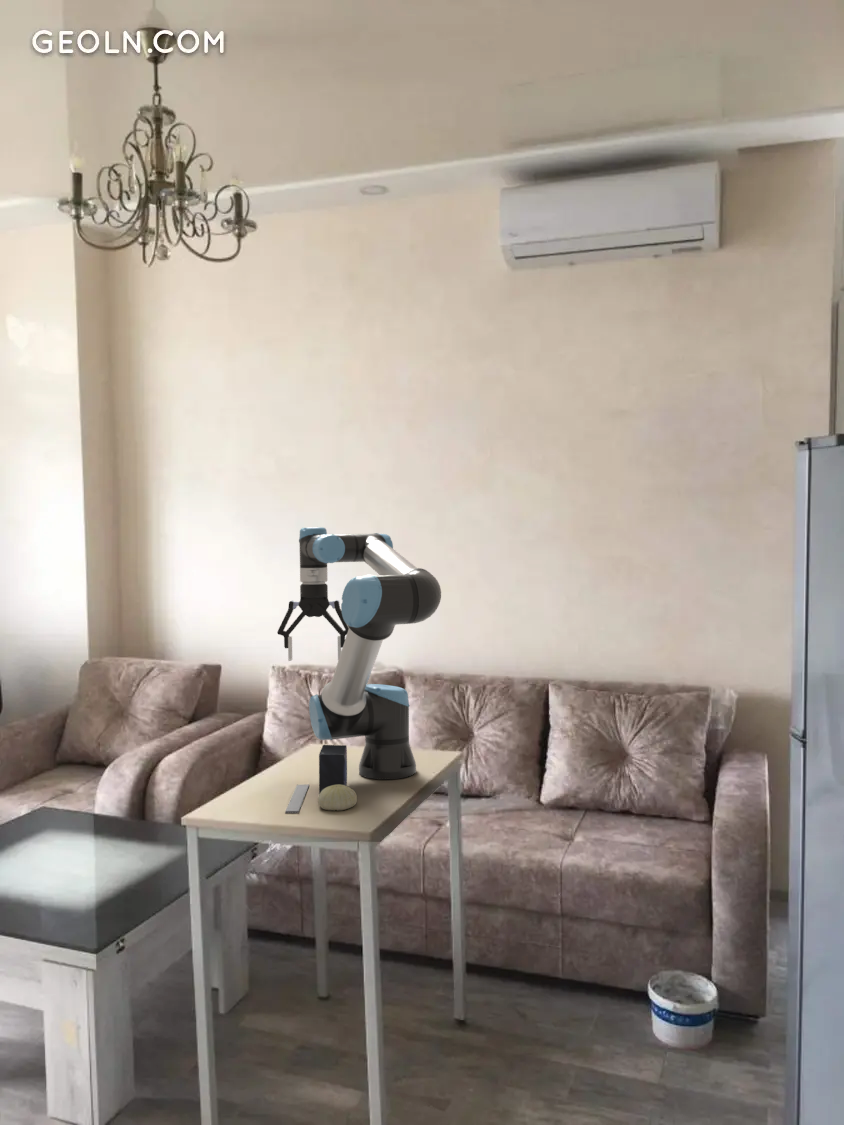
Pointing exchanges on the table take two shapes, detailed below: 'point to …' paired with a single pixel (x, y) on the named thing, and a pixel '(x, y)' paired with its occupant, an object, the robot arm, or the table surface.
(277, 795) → the table surface
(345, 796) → the sea urchin shell
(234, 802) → the table surface
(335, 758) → the small box
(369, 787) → the table surface
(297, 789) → the gray strip
